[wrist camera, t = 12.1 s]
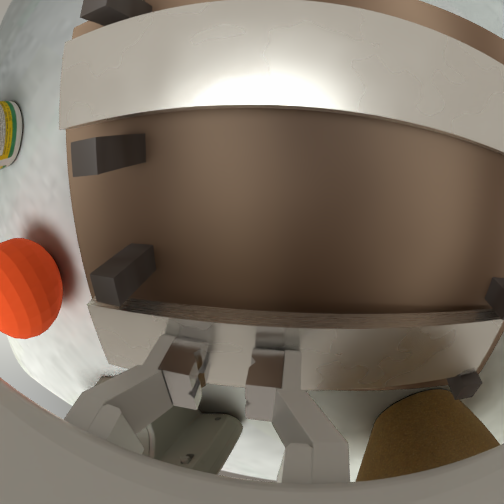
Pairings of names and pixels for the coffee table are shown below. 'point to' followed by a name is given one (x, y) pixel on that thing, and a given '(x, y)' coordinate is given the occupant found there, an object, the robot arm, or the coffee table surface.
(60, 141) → the coffee table surface
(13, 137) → the supplement bottle
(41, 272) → the clementine
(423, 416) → the plant pot
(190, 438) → the digital clock
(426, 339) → the strap
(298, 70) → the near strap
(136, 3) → the strap base
